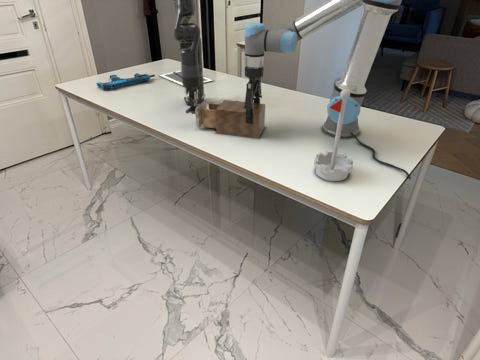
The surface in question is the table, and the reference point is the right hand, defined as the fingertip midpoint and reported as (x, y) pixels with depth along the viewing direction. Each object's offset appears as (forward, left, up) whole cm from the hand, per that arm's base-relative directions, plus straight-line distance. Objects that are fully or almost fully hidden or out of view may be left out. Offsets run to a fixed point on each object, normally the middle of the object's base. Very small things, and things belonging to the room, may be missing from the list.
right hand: (252, 117), depth 146 cm
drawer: (+12, +14, -6) cm, 19 cm away
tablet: (+89, +2, -7) cm, 89 cm away
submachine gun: (+98, +38, -7) cm, 106 cm away
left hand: (+18, +20, -1) cm, 28 cm away
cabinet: (+4, +4, -7) cm, 8 cm away
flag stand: (-43, -10, -7) cm, 44 cm away
